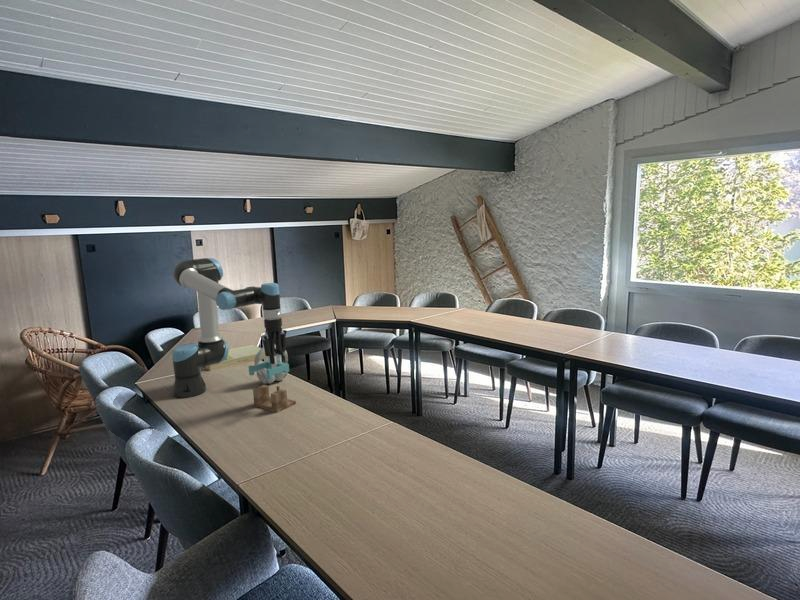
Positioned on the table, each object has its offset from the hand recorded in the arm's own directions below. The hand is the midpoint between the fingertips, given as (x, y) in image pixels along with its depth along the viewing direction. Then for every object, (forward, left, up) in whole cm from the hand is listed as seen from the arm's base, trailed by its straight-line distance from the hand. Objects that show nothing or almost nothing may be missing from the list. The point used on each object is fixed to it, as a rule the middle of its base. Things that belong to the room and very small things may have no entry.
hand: (277, 369), depth 209 cm
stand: (0, -2, -16) cm, 16 cm away
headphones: (-24, +19, -16) cm, 35 cm away
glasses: (0, -5, 0) cm, 5 cm away
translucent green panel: (-77, +35, -17) cm, 86 cm away
